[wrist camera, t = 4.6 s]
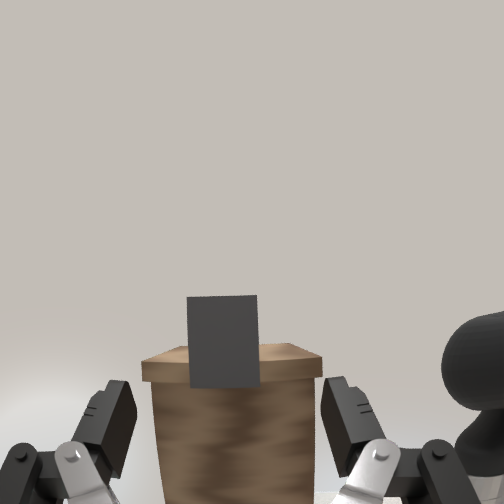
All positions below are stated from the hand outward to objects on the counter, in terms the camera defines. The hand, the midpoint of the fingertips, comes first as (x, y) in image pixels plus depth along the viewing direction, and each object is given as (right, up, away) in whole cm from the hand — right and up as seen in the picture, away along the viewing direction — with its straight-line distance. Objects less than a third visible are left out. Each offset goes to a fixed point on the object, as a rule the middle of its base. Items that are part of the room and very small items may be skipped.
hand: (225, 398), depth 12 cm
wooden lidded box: (0, -35, +11) cm, 36 cm away
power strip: (-1, -2, +12) cm, 12 cm away
